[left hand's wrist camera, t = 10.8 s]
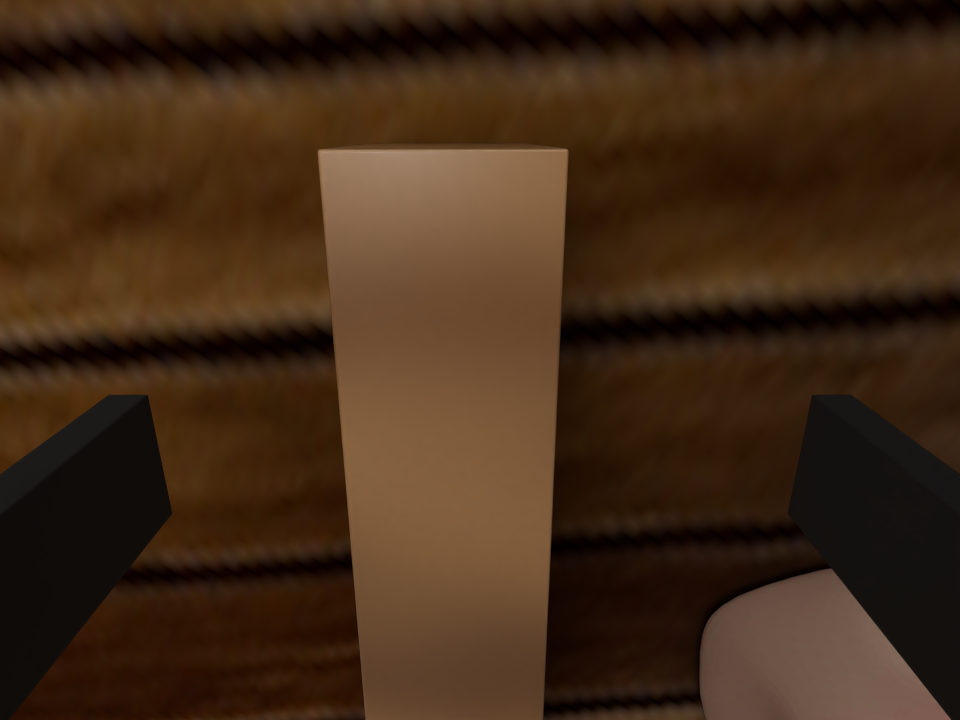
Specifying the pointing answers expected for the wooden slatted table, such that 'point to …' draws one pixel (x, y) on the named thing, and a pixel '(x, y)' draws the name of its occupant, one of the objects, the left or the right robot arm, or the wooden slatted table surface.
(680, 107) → the wooden slatted table surface
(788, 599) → the anatomical model
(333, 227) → the beam
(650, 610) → the wooden slatted table surface
